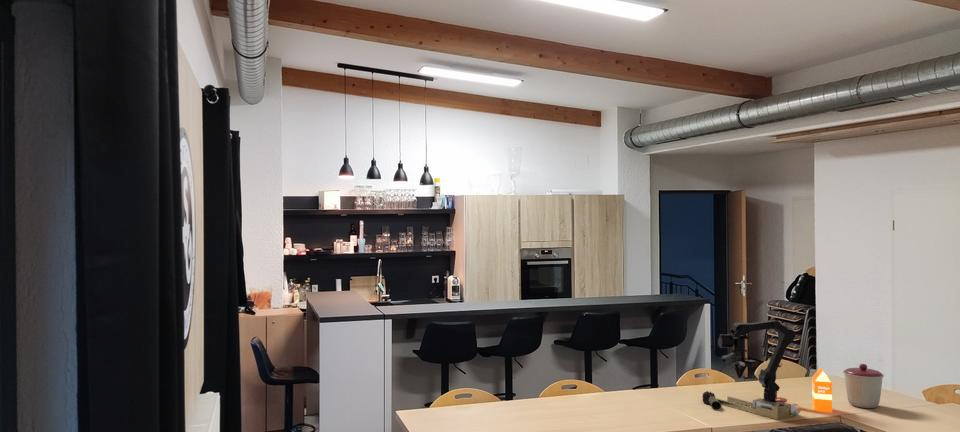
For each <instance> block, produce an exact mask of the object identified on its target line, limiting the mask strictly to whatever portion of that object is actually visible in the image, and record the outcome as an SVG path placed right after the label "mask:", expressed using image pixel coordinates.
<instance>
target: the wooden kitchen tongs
mask: <svg viewBox="0 0 960 432" xmlns="http://www.w3.org/2000/svg"><path fill="white" fill-rule="evenodd" d="M716 399H717V400H718V401H719V402H720V403H721V406H726V407H728V408H729V407H730V408H732V407H733V409H736V408H737V410H740V409H741V411H743V410H744V412H747V411H748V413H750V412H752V413H751V414H754V413H755V415H758V414H759V415H758V416H761V415H762V417H765V416H766V417H765V418H769V419H772V420H777V421H779V420H783V419H787V418H791V417H792V416H797V415H799V414H800V413H801V407H800V405H798V404H797V403H789V402H788V399H787V398H785V397H777V398H776V401H778V404H777V405H773V406H772V410H770V409H766V408H762V407H759V406H756V407H755V408H752V407H753V401H747V400H745V399H740V398H736V397H733V396H727V399H725V400H724V399H722V398H721V399H720V398H716ZM738 403H739V404H738ZM741 404H743V405H741ZM745 405H747V406H745ZM749 406H751V407H749Z"/></svg>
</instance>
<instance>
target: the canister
mask: <svg viewBox="0 0 960 432" xmlns="http://www.w3.org/2000/svg"><path fill="white" fill-rule="evenodd" d="M842 373H843V374H844V380H845V381H844V383H845V389H846V395H847V400H848V403H849V404H850V405H852V406H853V407H856V408H863V409H876V408H877V407H878V406H879V405H880V402H881V394H882V387H883V385H882V384H883V378H884V377H885V374H884V373H882V372H880V371H879V370H876V369H873V368H868V365H867V364H866V363H860V364H859V365H858V367H849V368H846V369H844V370H842Z"/></svg>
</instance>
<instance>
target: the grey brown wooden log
mask: <svg viewBox="0 0 960 432" xmlns="http://www.w3.org/2000/svg"><path fill="white" fill-rule="evenodd" d="M717 399H718V398H716V395H715V393H714V392H712V391H708V390H707V391H705V392H703V393H702V402H703V403H704V404H705V405H710V406H711V408H712V409H713V410H720V409H721V408H722V404H721V403H720V402H719V401H718V400H717Z"/></svg>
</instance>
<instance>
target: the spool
mask: <svg viewBox="0 0 960 432" xmlns="http://www.w3.org/2000/svg"><path fill="white" fill-rule="evenodd" d="M762 399H763V398H759V397H758V398H756V399H752V403H753V408H755V407H756V406H759V407H762V408H766V409H770V410H772V406H773V405H777V404H778V402H774V403H772V402H768V401H764V400H762Z"/></svg>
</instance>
